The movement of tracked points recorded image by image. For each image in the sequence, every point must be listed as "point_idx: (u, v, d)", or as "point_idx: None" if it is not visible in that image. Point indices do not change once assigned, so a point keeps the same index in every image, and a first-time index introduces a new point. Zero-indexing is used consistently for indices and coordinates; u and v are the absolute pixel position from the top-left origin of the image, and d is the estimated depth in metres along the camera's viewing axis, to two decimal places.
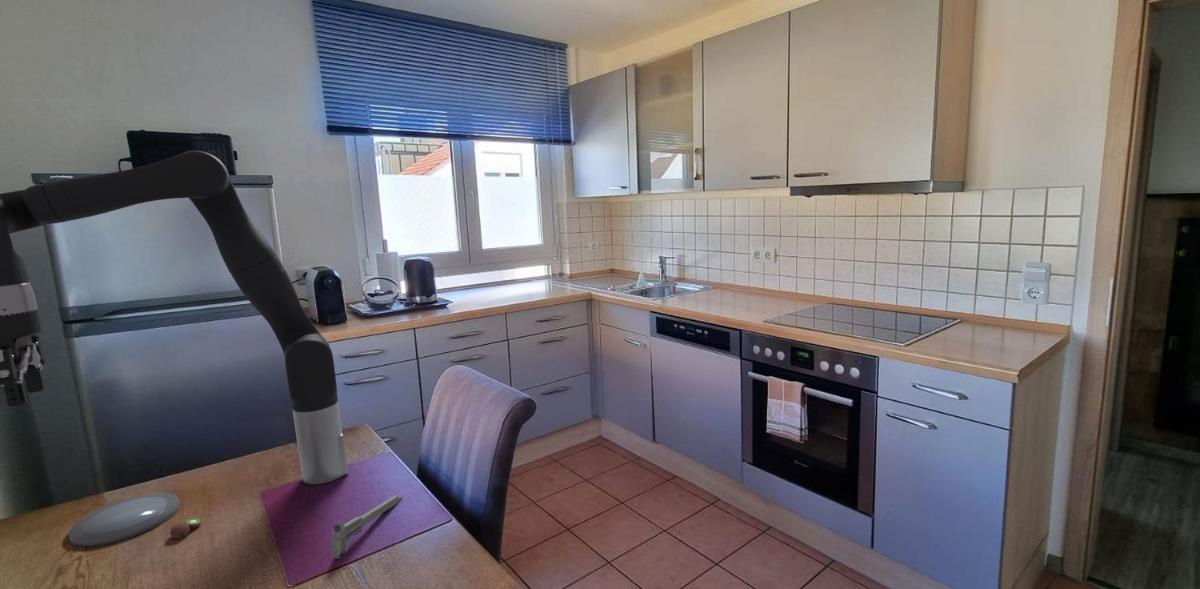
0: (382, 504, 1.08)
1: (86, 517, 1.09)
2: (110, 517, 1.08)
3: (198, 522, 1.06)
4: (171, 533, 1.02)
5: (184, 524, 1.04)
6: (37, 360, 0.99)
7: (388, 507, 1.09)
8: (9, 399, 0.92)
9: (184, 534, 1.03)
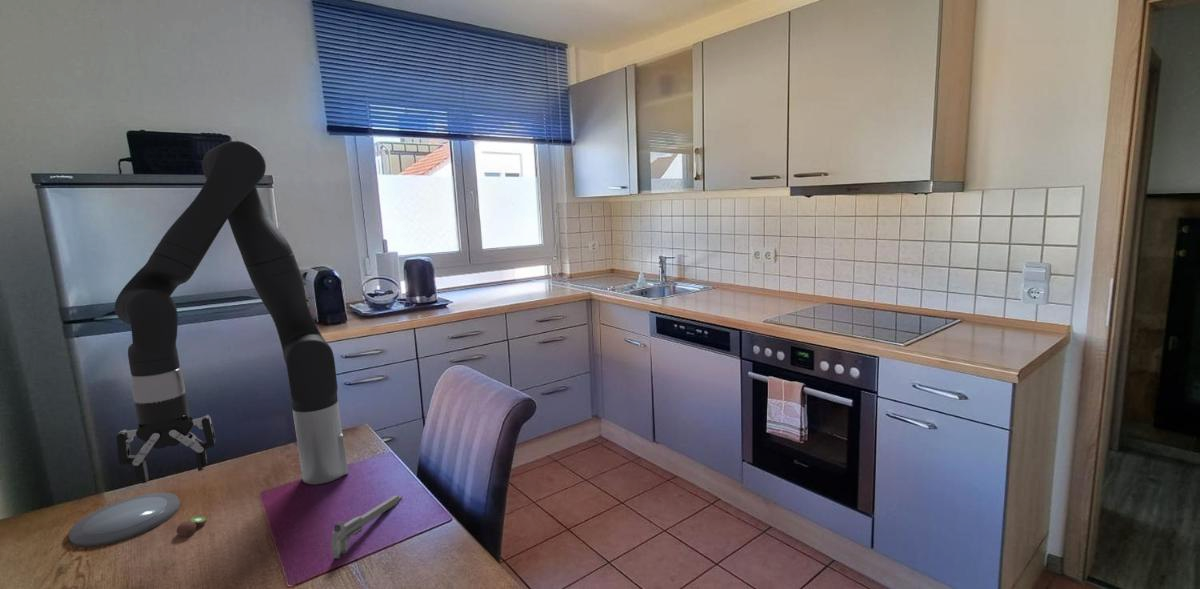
0: (382, 504, 1.08)
1: (86, 517, 1.09)
2: (110, 517, 1.08)
3: (204, 520, 1.07)
4: (178, 531, 1.03)
5: (190, 522, 1.04)
6: None
7: (388, 507, 1.09)
8: (206, 461, 1.05)
9: (191, 532, 1.03)
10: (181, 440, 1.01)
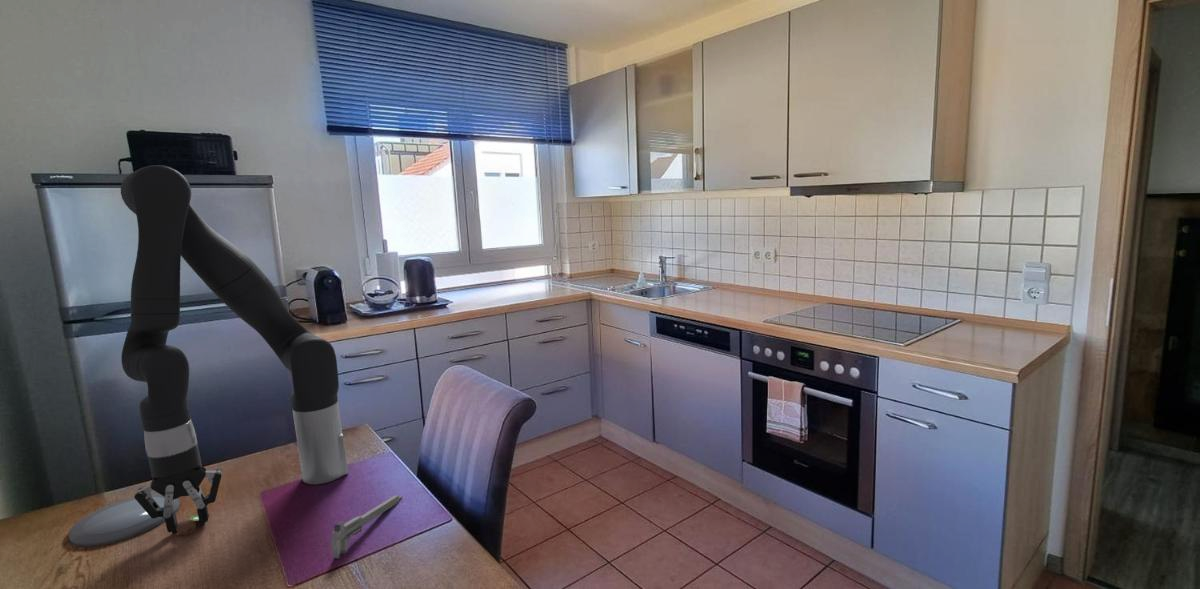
0: (382, 504, 1.08)
1: (86, 517, 1.09)
2: (110, 517, 1.08)
3: None
4: (178, 530, 1.03)
5: (190, 520, 1.04)
6: None
7: (388, 507, 1.09)
8: (207, 516, 1.06)
9: (192, 530, 1.03)
10: (190, 492, 1.03)
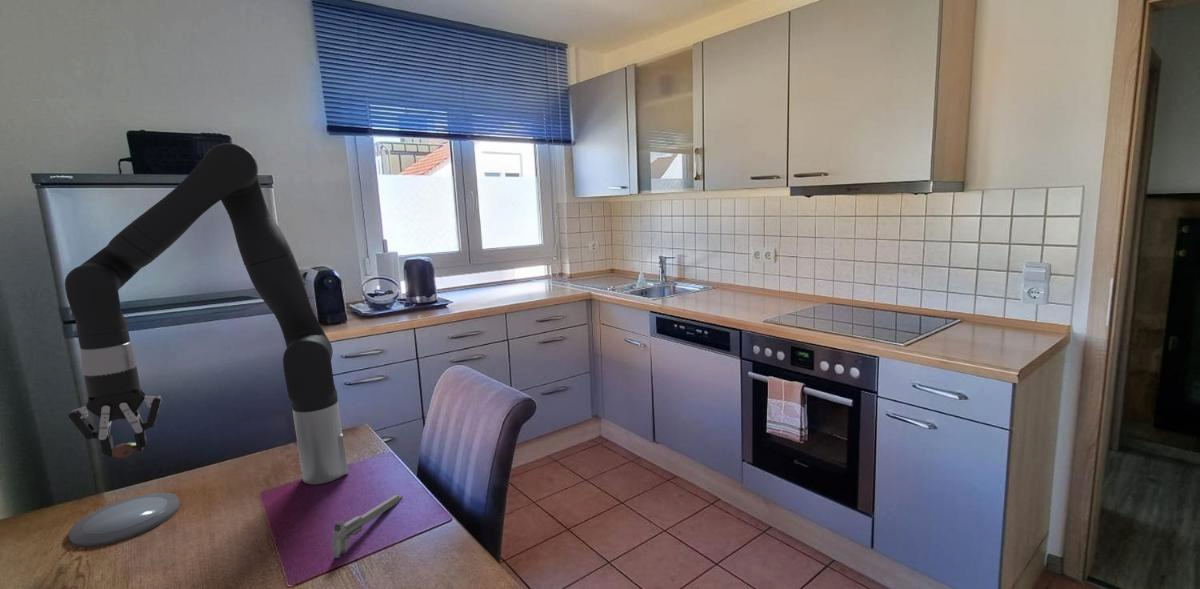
0: (382, 504, 1.08)
1: (86, 517, 1.09)
2: (110, 517, 1.08)
3: None
4: (114, 452, 1.02)
5: (127, 444, 1.04)
6: None
7: (388, 507, 1.09)
8: (145, 442, 1.06)
9: (128, 453, 1.03)
10: (127, 415, 1.03)
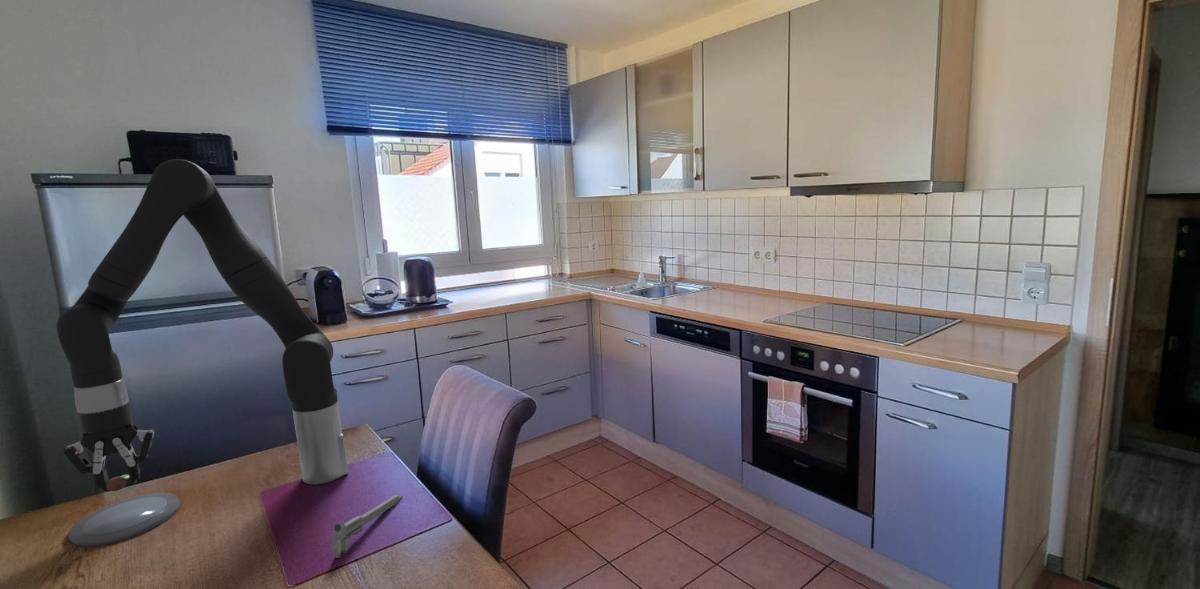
0: (382, 503, 1.08)
1: (86, 517, 1.09)
2: (110, 517, 1.08)
3: None
4: (107, 486, 1.06)
5: (120, 477, 1.07)
6: None
7: (388, 507, 1.09)
8: (138, 475, 1.09)
9: (121, 486, 1.06)
10: (120, 450, 1.06)
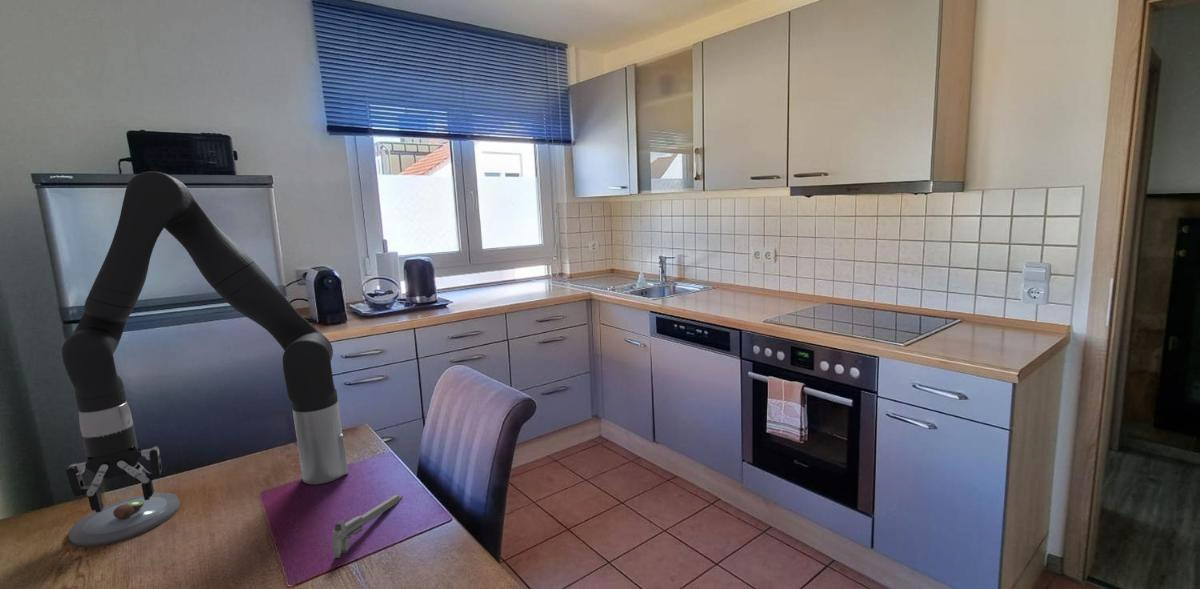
0: (383, 503, 1.08)
1: (86, 517, 1.09)
2: (110, 517, 1.08)
3: (141, 503, 1.11)
4: (115, 514, 1.07)
5: (128, 505, 1.08)
6: None
7: (388, 506, 1.09)
8: (152, 491, 1.11)
9: (129, 514, 1.08)
10: (128, 471, 1.07)
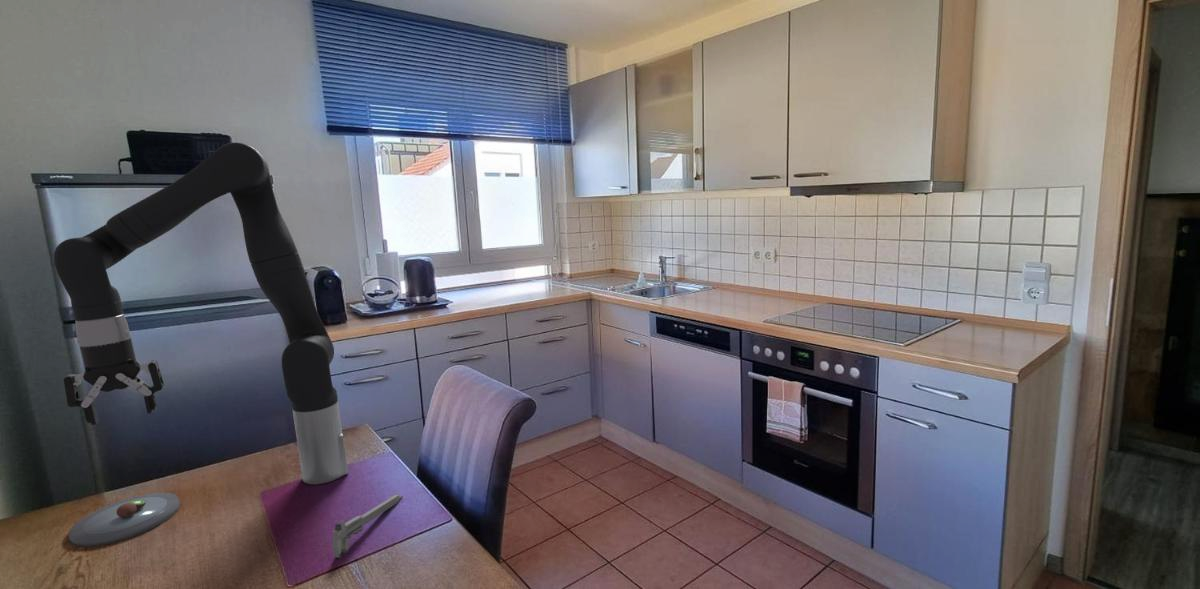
0: (383, 503, 1.08)
1: (86, 517, 1.09)
2: (110, 517, 1.08)
3: (143, 502, 1.11)
4: (118, 513, 1.07)
5: (131, 504, 1.09)
6: (100, 390, 1.07)
7: (389, 506, 1.09)
8: (155, 405, 1.10)
9: (132, 512, 1.08)
10: (128, 383, 1.06)
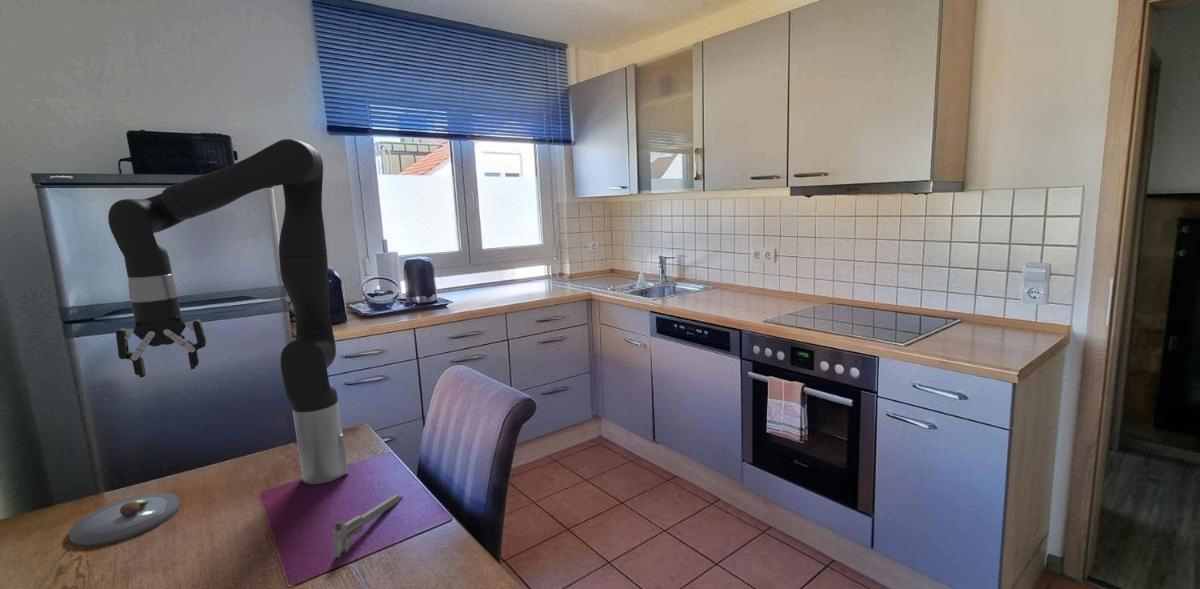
0: (383, 503, 1.08)
1: (86, 517, 1.09)
2: (110, 517, 1.08)
3: (146, 501, 1.12)
4: (122, 511, 1.07)
5: (134, 502, 1.09)
6: None
7: (389, 506, 1.09)
8: (198, 361, 1.16)
9: (136, 511, 1.08)
10: (174, 339, 1.12)
